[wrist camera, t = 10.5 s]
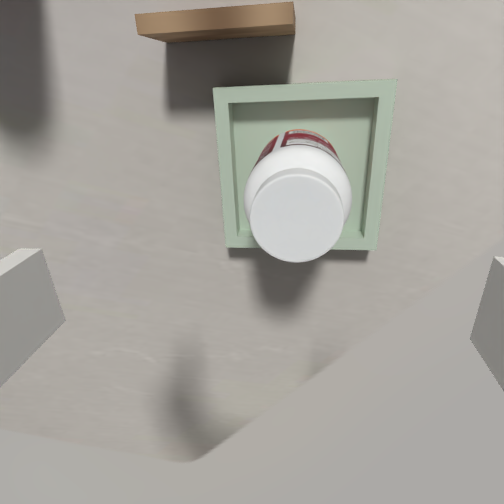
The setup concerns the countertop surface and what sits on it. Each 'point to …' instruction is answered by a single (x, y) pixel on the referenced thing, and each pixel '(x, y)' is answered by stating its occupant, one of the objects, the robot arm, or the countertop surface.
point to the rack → (218, 23)
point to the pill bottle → (297, 196)
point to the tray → (317, 120)
